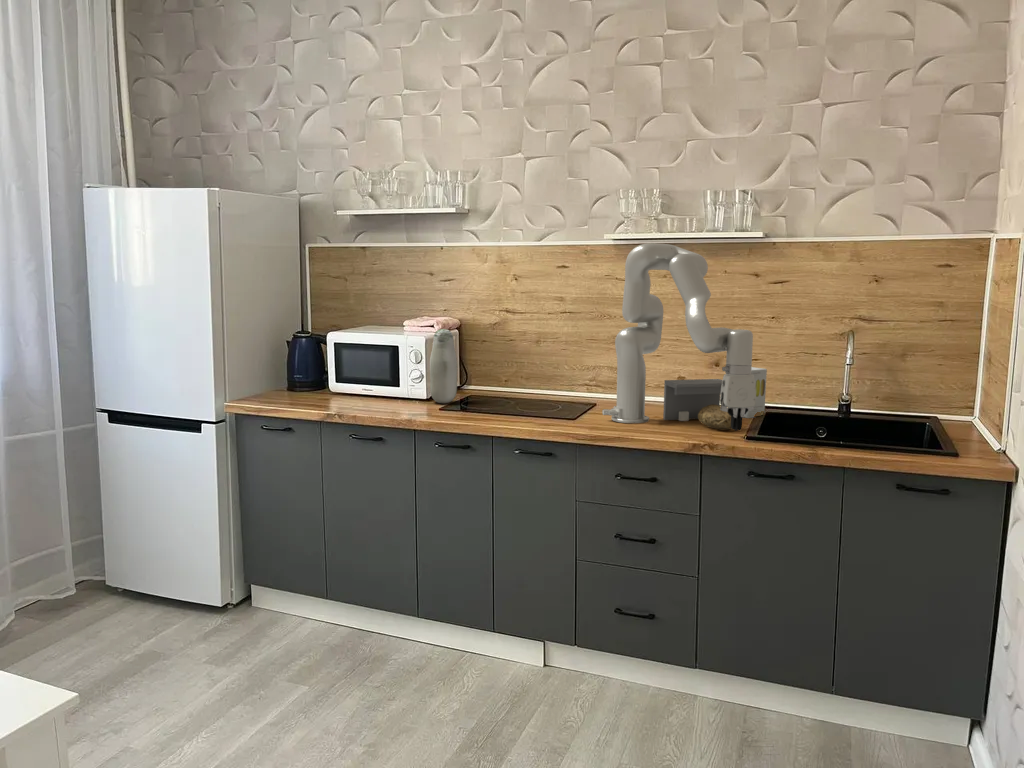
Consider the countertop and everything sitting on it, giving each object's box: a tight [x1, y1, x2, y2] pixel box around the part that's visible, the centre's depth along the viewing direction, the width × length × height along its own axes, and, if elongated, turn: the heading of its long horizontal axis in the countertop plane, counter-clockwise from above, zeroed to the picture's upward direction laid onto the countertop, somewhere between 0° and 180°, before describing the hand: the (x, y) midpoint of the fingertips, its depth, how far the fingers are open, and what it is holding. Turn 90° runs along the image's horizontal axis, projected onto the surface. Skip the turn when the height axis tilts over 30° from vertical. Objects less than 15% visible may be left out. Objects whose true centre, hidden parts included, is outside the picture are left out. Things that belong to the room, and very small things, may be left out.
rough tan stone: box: [697, 404, 733, 431], centre depth 273 cm, size 13×8×20 cm
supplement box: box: [743, 366, 768, 419], centre depth 294 cm, size 10×9×17 cm
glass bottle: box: [429, 328, 458, 404], centre depth 315 cm, size 10×10×28 cm
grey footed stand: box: [662, 378, 723, 422], centre depth 283 cm, size 20×10×14 cm, turn 103°
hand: (736, 429), depth 257 cm, fingers closed
